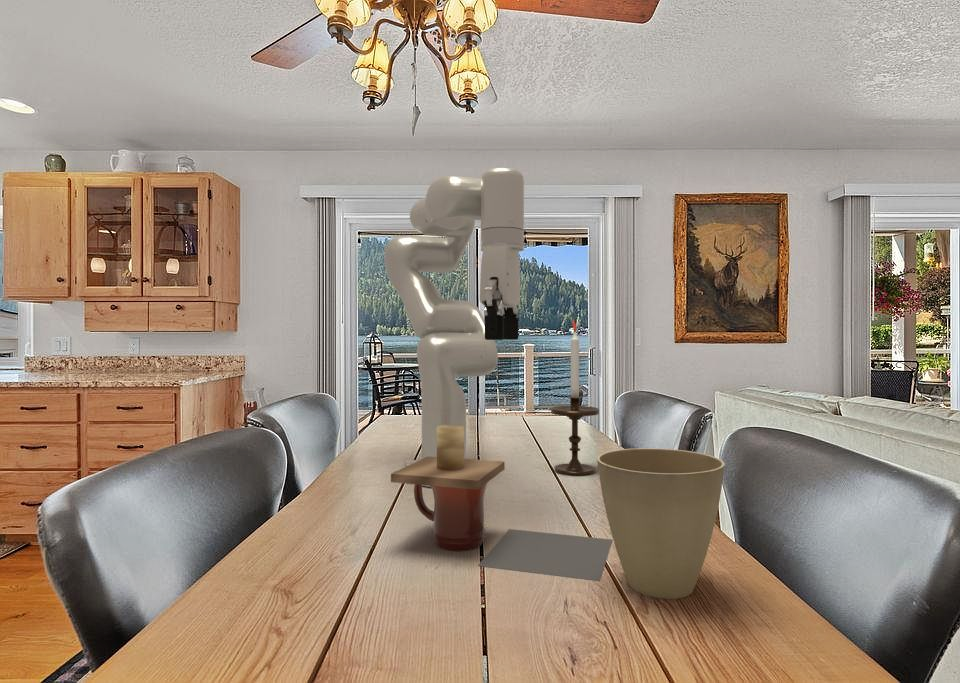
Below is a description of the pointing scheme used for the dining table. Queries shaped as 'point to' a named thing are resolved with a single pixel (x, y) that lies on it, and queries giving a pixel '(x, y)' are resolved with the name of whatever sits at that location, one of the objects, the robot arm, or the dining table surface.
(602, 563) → the mat
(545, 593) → the dining table surface
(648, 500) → the plant pot
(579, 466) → the candlestick
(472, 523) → the mug
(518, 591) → the dining table surface
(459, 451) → the lid
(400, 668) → the dining table surface
